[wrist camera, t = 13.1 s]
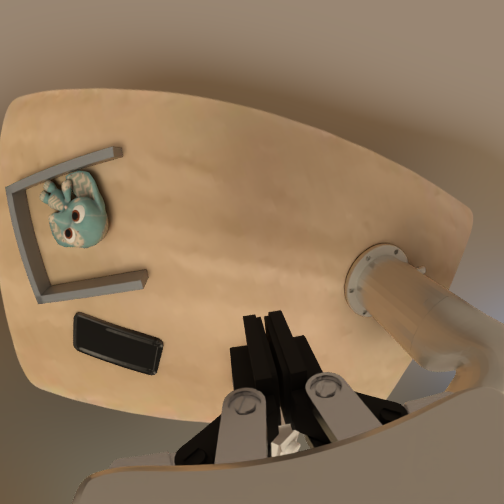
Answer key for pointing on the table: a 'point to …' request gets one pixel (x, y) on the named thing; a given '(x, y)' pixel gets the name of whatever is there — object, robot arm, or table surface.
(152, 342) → the phone
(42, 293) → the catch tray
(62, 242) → the stuffed animal
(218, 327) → the table surface
